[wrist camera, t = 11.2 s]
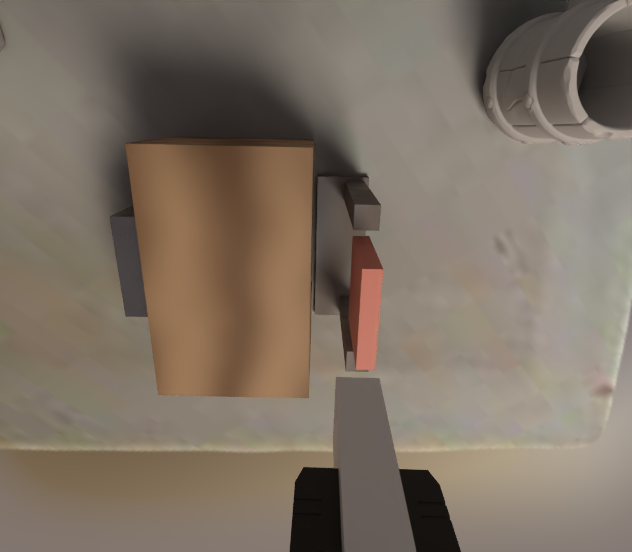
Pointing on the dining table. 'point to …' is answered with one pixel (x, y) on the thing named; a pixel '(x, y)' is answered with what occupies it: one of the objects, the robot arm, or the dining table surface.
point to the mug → (565, 76)
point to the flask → (1, 40)
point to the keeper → (364, 302)
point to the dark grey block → (130, 262)
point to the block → (241, 260)
